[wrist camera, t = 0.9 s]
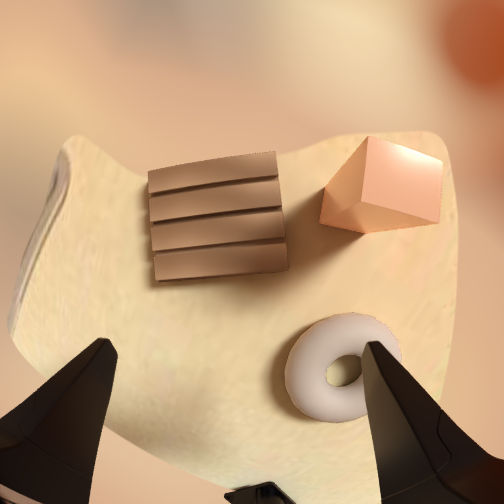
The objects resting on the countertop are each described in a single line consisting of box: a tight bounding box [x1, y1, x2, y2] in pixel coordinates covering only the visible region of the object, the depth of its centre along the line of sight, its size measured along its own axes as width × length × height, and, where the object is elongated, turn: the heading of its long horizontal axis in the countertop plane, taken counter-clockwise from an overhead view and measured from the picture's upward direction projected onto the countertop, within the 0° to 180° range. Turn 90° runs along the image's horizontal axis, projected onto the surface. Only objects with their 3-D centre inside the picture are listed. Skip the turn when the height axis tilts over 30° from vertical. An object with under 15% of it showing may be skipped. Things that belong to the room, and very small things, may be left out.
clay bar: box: [319, 136, 443, 234], centre depth 16 cm, size 3×4×11 cm
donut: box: [284, 312, 402, 423], centre depth 20 cm, size 10×3×10 cm
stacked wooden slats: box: [148, 151, 289, 282], centre depth 21 cm, size 9×10×2 cm
